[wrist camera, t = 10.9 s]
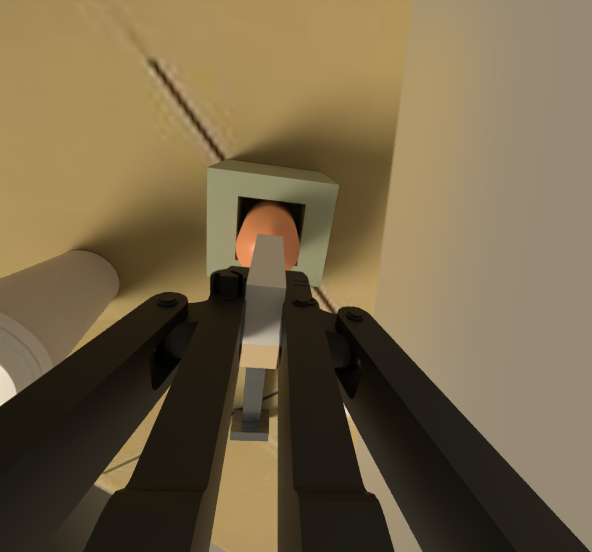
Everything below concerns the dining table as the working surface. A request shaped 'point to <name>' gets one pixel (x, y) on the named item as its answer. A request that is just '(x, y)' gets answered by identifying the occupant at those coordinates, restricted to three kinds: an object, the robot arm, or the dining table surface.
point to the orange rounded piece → (268, 230)
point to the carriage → (259, 356)
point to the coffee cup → (49, 314)
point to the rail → (251, 410)
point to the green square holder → (272, 186)
